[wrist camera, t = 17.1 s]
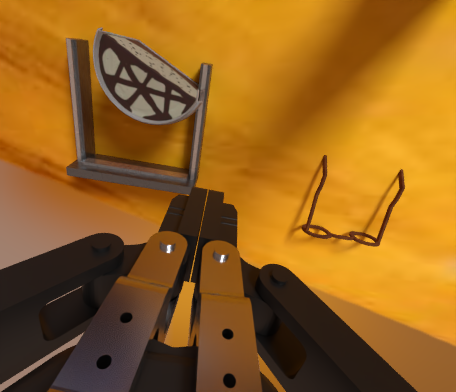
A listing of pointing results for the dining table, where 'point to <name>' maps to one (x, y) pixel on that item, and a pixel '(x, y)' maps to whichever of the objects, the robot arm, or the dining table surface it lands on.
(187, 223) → the robot arm
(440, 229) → the dining table surface
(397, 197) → the glasses
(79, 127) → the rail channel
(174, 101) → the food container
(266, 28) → the dining table surface
